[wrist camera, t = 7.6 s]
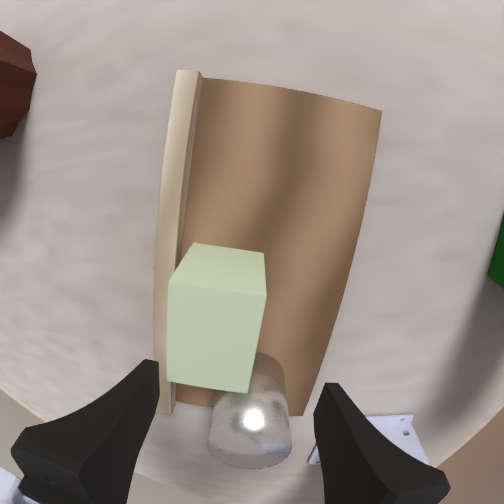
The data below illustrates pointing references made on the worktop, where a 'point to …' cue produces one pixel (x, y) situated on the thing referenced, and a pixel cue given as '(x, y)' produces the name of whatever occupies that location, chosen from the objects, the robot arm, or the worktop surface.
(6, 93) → the muffin
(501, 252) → the milk carton
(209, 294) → the tea box
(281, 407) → the metal can
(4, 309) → the worktop surface
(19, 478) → the robot arm
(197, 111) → the shelf board
